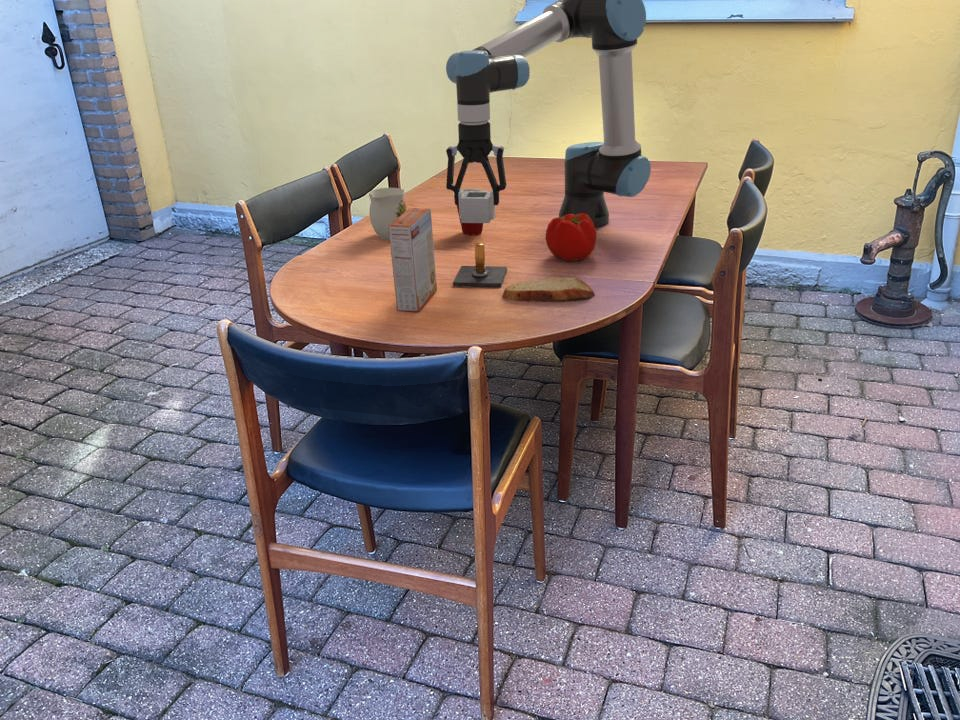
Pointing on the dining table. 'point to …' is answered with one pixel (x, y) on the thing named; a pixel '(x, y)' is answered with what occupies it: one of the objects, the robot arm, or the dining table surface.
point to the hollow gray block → (475, 207)
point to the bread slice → (549, 290)
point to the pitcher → (385, 209)
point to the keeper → (480, 272)
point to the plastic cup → (471, 227)
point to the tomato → (571, 236)
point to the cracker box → (413, 259)
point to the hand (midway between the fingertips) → (477, 217)
